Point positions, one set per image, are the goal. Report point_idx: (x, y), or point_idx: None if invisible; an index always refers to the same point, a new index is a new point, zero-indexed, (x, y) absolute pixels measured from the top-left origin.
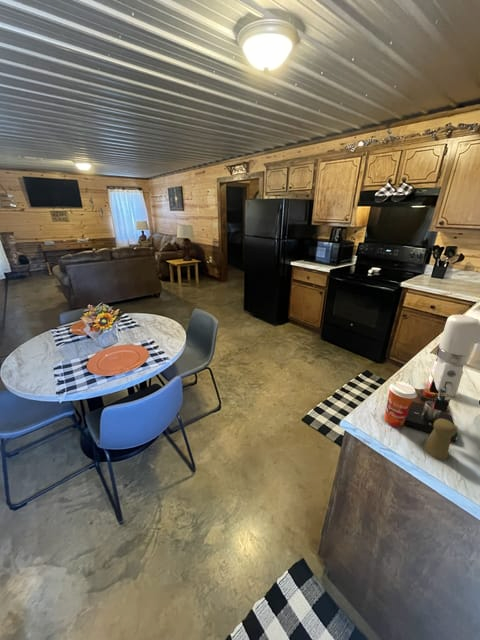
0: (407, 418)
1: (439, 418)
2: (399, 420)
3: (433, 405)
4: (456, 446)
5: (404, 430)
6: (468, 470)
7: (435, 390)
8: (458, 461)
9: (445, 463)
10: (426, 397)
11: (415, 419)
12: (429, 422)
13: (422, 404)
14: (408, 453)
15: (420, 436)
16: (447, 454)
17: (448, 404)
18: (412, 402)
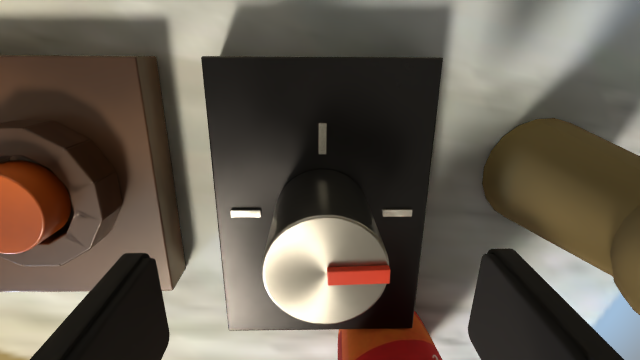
0: (400, 321)
1: (300, 150)
2: (440, 356)
3: (346, 282)
4: (455, 53)
5: (431, 290)
6: (634, 27)
7: (148, 328)
8: (579, 67)
9: (611, 135)
10: (89, 221)
11: (389, 285)
12: (382, 215)
13: (163, 223)
14: (589, 281)
15: (446, 226)
16: (585, 130)
17: (581, 320)
18: (173, 270)
